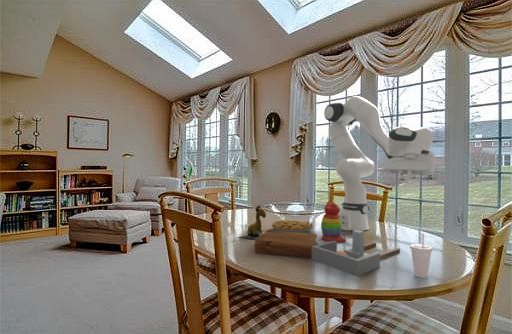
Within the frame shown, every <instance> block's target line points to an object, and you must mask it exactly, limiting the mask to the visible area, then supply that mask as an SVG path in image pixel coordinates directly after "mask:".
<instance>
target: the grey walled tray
mask: <svg viewBox="0 0 512 334" xmlns="http://www.w3.org/2000/svg"><path fill="white" fill-rule="evenodd" d="M337 251H338V242H337V241H330V242H327V241H326V242H323V243H320V244H317V245H315V246H312V259H311V260H312V261H315V262H318V263H321V264H323V265H326V266H329V267H332V268H334V269H337V270H340V271H343V272H345V273H348V274H349V275H354V276H356V277H359V276H362V275H365V274H367V273H370V272H372V271H374V270H376V269H379V268H380V267H381V264H380V263H381V262H380V261H381V260H380V254H381V253H379V252H373V253H368V254H369V255H366V256H364V257H361V258H358V259H355V258H352V257H349V256H346V255H343V254H339V253H336V252H337Z"/></svg>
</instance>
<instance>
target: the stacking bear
mask: <svg viewBox="0 0 512 334" xmlns="http://www.w3.org/2000/svg"><path fill="white" fill-rule="evenodd" d="M340 210H341V208H340V207H339V206H338V204H337V203H336V202H335V203H334V202H330V201H327V202H326V204H325V206H324V212H325V214H324V215H323V216H322V219H321V225H320V228H321V233H322V235H321V240H322V241H324V242H326V243H327V242H330V241H337V243H345V242H346V238H345V237H343V236H341V231H342V229H341V221H340V218H339V215H338V213H339V211H340Z"/></svg>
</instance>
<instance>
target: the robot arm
mask: <svg viewBox="0 0 512 334" xmlns="http://www.w3.org/2000/svg"><path fill="white" fill-rule="evenodd" d="M323 113H324V118H325V119H326V120H327V121H328V122H330V123H331V124H330V125H329V126H328V133H329V137H330V140H331V142H332V145H333V146H334V147H333V148H335V151H336V153H337V154H338V156H340V157H341V158H343V159H340V160H339V161H337V163H336V167H335V171H336V173H337V175H338V176H339V177H340V178H341V181H342V182H343V186H344V194H345V195H344V197H345V198H344V200H345V201H344V202H342V203H340V204H341V206H342V208H340V211H339V213H338V215H339V218H340V221H341V230H344V231H355V230H359V231H368V230H370V227H369V223H368V216H367V215H368V214H367V212H368V203H367V188H366V187H365V186H364V185H363V182H362V180H361V178H366V177H367V178H368V177H369V176H371V175H373V174H374V172H375V169H376V166H375V163H374V161H373V160H372V159H369V157H367V156H366V154H364V153H363V152H362V150H361V149H360V148H359V147H358V146H357V144H356V142H355V140H354V138H353V137H352V135H351V132H350V131H349V129H348V128H349V127H350V126H352V125H353V124H354V123H355V122H356V121H357V122H358V123H359V124H360V125H361V126H362V127H363V129H364V130H365V131H366V133H367V134H368V135H369V136H370V137H371V138H372V140H373V141H375V142H376V144H377V145H378V146H379V147H380V149H382V150H383V151H384V153H385V156H386V158H388V161H386V163H385V165H384V166H383V169H384V172H385V173H386V175H389V174H390V175H398V181H400V182H408V179H409V178H411V177H413V176H416V175H417V176H431V175H434V173H435V172H436V168H437V166H436V164H437V159H436V156H435V154H434V152H433V151H432V150H430V149H431V147H432V145H433V141H434V134H433V132H432V131H431V129H429V128H425V127H418V128H415V129H414V128H407V127H404V126H397V127H394V128H392V129H391V130H390V131H389V133H388V135H387V134H386V132H385V131H384V130H383V127H382V122H381V114H380V111H379V109H378V108H377V106H376V105H374V104H373V103H372V102H370V101H368V100H367V99H365V98H364V97H361V96H358V95H352V96H351V97H350V98H348V99H347V101H346V103H345V102H342V103H341V102H334V103H330V104H327V105H326V107H325V108H324V112H323Z"/></svg>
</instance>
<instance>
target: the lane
mask: <svg viewBox="0 0 512 334" xmlns="http://www.w3.org/2000/svg"><path fill="white" fill-rule="evenodd" d="M374 247H377V242H374V241H372V242H368V243H366V244H365V243H364V251H366V250H369V249H372V248H374ZM348 249H349V250H352V248H348ZM399 253H401V249H400V248H399V247H394V248H392V249H389V250H386V251H384V252H381V253H380V261H381V260H383V259H386V258H389V257H391V256H394V255H397V254H399Z"/></svg>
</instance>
